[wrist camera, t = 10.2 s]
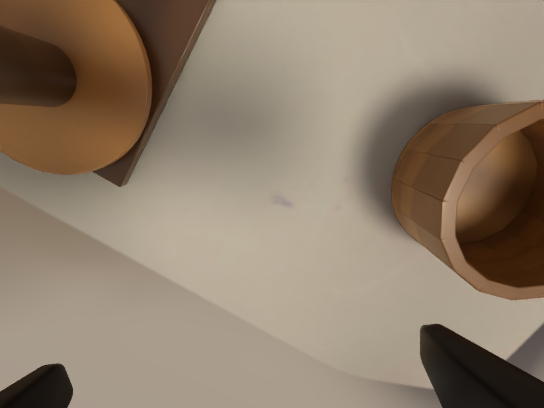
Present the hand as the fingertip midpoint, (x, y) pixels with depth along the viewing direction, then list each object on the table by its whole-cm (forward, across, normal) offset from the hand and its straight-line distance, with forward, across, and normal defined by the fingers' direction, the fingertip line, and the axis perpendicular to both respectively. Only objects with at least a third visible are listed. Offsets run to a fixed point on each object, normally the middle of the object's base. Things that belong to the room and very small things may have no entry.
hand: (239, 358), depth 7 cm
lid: (+10, +9, -9) cm, 17 cm away
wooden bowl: (+12, -13, 0) cm, 17 cm away
